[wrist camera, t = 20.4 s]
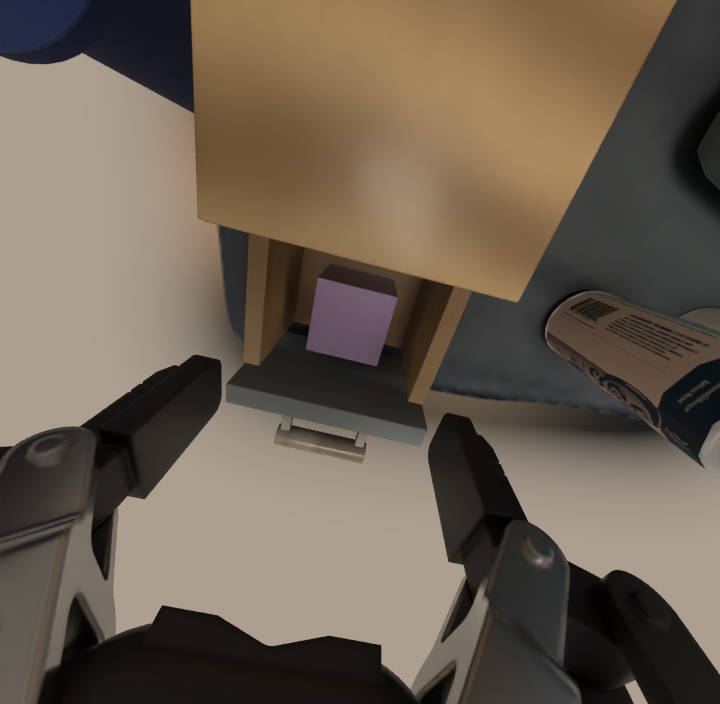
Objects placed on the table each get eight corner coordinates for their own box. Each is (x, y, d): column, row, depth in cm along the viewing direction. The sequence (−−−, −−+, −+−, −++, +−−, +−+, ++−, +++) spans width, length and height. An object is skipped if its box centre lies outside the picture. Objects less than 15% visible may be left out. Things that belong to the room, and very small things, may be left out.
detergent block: (320, 323, 18) (305, 349, 15) (330, 263, 16) (317, 276, 13) (377, 337, 18) (377, 366, 15) (394, 279, 17) (398, 297, 13)
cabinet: (455, 263, 18) (518, 303, 10) (282, 217, 17) (196, 219, 9) (593, -92, 11) (1135, -865, 3) (320, -186, 11) (137, -1420, 3)
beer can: (530, 348, 20) (698, 497, 10) (558, 284, 18) (817, 385, 7) (594, 356, 20) (834, 515, 10) (630, 293, 18) (995, 408, 7)
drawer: (389, 422, 23) (393, 503, 17) (269, 394, 23) (224, 466, 16) (484, 171, 15) (567, 137, 8) (297, 117, 14) (229, 37, 8)
